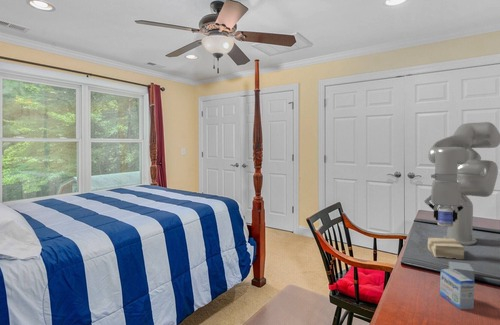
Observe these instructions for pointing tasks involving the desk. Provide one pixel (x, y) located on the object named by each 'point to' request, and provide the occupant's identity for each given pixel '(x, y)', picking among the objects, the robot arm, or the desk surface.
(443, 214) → the pill bottle
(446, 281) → the medicine box
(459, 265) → the grey block
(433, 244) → the oak block
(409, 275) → the desk surface
